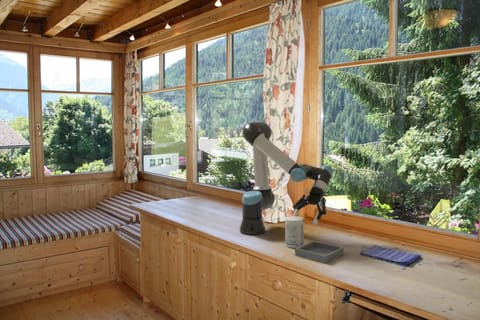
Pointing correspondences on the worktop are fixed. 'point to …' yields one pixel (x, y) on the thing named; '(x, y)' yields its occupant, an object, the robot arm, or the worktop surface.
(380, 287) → the worktop surface
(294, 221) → the supplement tub
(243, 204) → the robot arm
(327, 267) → the worktop surface
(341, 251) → the tray
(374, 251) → the dish towel
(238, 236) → the worktop surface
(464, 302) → the worktop surface
